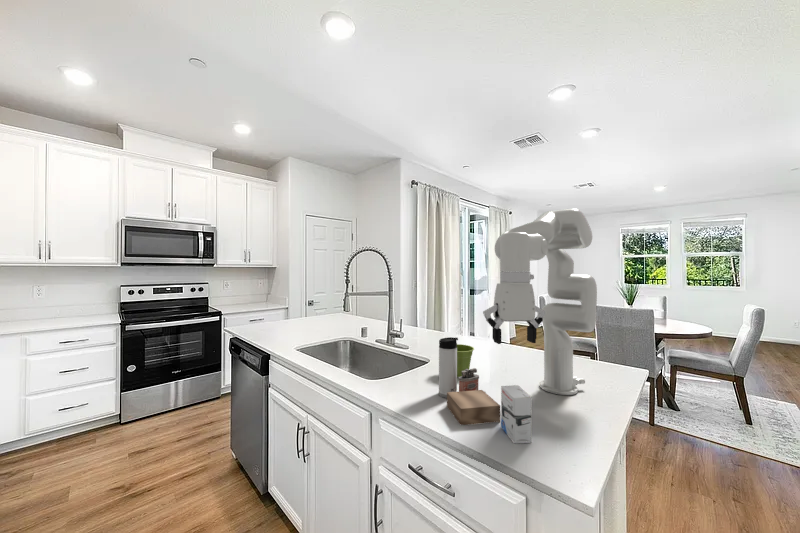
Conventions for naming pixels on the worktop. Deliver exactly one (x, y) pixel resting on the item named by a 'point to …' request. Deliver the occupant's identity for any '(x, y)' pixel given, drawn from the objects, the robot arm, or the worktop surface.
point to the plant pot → (463, 358)
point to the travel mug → (447, 366)
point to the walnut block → (473, 407)
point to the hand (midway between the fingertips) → (514, 342)
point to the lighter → (468, 380)
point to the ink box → (516, 413)
